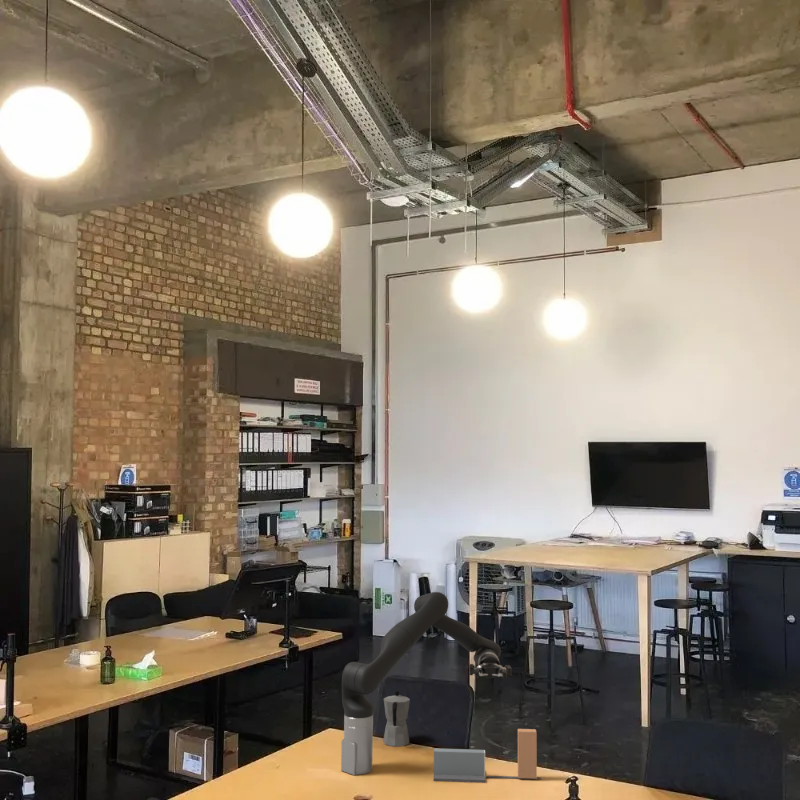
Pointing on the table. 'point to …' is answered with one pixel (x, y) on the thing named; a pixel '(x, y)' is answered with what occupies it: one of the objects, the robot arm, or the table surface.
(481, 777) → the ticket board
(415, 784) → the table surface
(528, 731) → the stub
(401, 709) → the coffeepot
